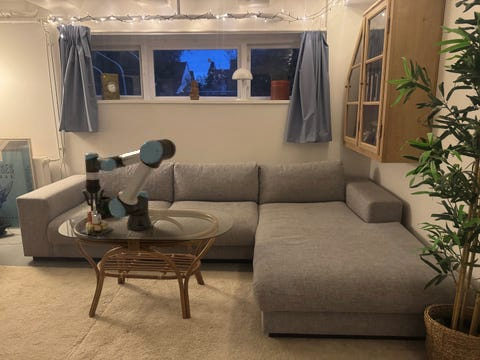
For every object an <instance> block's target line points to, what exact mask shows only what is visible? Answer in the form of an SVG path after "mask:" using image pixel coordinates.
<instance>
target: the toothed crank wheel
mask: <svg viewBox="0 0 480 360" xmlns="http://www.w3.org/2000/svg"><path fill="white" fill-rule="evenodd" d="M86 213H87V214H86V215H87V222H86V223H85V227H86V226H88V228H89V230H91V231H92V230H95V231H97V230H101V229H105V228H107V227H109V225H108V223H109V222H108V221H107V220H104V219H103V220H102V219H101V224H100V225H92V215H93V211H87V212H86Z"/></svg>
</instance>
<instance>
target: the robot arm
mask: <svg viewBox="0 0 480 360" xmlns="http://www.w3.org/2000/svg"><path fill="white" fill-rule="evenodd" d="M176 151H177V147H176V145H175V142H173V141H172V140H170V139H167V138H163V139H156V140H155V139H152V140H148V141H145V142H144V143H143V144H142V145H141V146H140V147H139V150H136V151H132V152H128V153H124V154H120V155H115V156H109V157H100V156H99V153H98V152H87V153H85V154H84V162H85V165H84V166H85V178H86V180H85V182H86V184H85V185H86V187H85V188H84V189H81V190H82V191H81V193H82V194H83V195H84V198H85V200H86V203H87V206H90V212H92V215H94V214H97V211H98V205H100V204H101V200H102V196H104V195H103V194H104V193H105V191H106V190H105V189H104V188H102V187H101V181H100V171H101V172H103V171H104V172H113V171H114V170H117V169H123V168H126V167H129V166H134V165H137V166H136V168H135V170H134V172H132V173H133V174H132V176H131V177H130V178H129V180H128V182H127V184H126V186H125V187H124V189H123V190H120V191H119V192H118V194H117V196H116V197H115V198H112V200H111V201H110V202H109V209H110V212H111V214H112V215H111V216H113V217H114V218H116V219H123V218H125V217H128V218H127V221H126V229H127V230H130V231H145V230H149V229H151V228H152V226H153V225H152V224H153V223H152V221H151V218H150V214H149V194H148V191H145V190H143V189H144V187H145V185H146V184H147V182H148V181H149V179H150V177H151V175H152V174H153V172H154V171H155V170H156V169H159V168H160V166H161V164H162V163H163V162H164V161H167V160H170V159H172V158H173V157H175V155H176ZM99 191H100V192H99ZM87 192H88V193H89V197H88V195H87ZM98 193H99V195H98ZM97 197H99V200H98V201H97ZM89 200H90V201H89Z"/></svg>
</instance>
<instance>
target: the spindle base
mask: <svg viewBox="0 0 480 360" xmlns="http://www.w3.org/2000/svg"><path fill="white" fill-rule="evenodd" d="M101 220H102V217H101V215H100V214H97V213H96V214H94V215H93V214H92V225H100V224H101ZM111 231H114V227H109V226H108V227H107V228H105V229H101V230H97V231H95V230H92V231H91V230H89V228H88V226H86V225H85V228H84V229H83V230H81V231H80V233H81V234H84V233H86V234H87V235H88V234H92V235H91V236H94V235H97V236H96V237H99V236H101V234H102V235H104V234H107V233H108V232H109V233H110V232H111ZM103 233H104V234H103ZM86 234H85V235H86ZM87 235H86V236H87ZM98 235H99V236H98ZM88 236H89V235H88Z"/></svg>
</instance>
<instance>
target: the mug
mask: <svg viewBox="0 0 480 360" xmlns="http://www.w3.org/2000/svg"><path fill="white" fill-rule="evenodd" d="M112 199H113V197H112V196H109V195H106V196H105V195H102V200H101V204H100V205H98V211H96V214H100V215H101V218H105V217H106V218H107V217H110V215H111V216H113V215H112V214H111V212H110V209H109V202H110V201H111V200H112ZM98 200H99V196H97V201H98Z"/></svg>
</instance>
